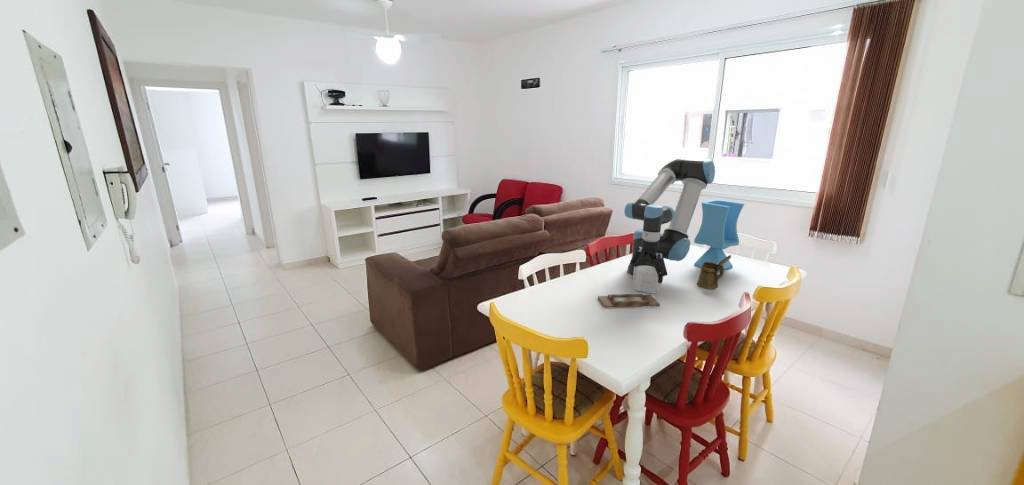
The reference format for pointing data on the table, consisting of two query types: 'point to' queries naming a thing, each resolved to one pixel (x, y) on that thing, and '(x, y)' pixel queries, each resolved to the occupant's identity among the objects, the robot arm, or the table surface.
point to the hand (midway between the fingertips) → (646, 284)
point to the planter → (718, 230)
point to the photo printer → (646, 279)
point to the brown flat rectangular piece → (628, 300)
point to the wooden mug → (711, 274)
